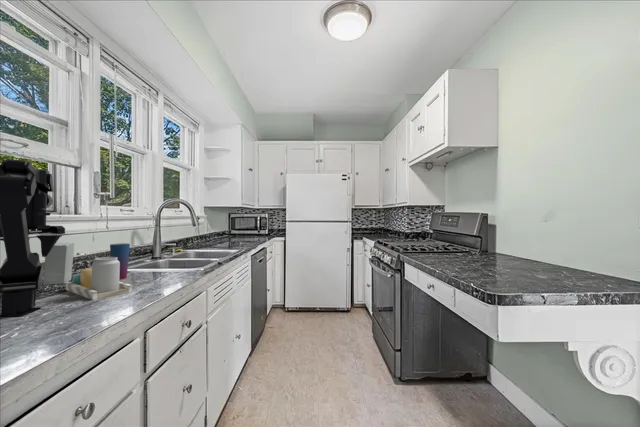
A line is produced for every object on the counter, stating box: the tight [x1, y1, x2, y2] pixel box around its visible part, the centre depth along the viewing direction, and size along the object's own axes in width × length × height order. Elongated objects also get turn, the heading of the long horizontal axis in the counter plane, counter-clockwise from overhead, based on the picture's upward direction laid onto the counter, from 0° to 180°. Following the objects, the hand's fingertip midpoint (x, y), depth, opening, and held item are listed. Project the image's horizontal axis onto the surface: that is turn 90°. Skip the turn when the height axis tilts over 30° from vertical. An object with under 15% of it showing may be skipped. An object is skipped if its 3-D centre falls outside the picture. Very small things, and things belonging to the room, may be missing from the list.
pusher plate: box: [72, 274, 80, 285], centre depth 103 cm, size 1×8×5 cm, turn 148°
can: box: [91, 256, 120, 294], centre depth 95 cm, size 8×8×12 cm
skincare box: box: [42, 241, 75, 287], centre depth 111 cm, size 8×7×16 cm
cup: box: [109, 242, 131, 281], centre depth 118 cm, size 7×7×15 cm
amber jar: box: [80, 267, 92, 289], centre depth 101 cm, size 7×7×7 cm
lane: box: [65, 281, 133, 301], centre depth 98 cm, size 22×11×3 cm, turn 58°
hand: (32, 258), depth 89 cm, fingers open, 9 cm apart
